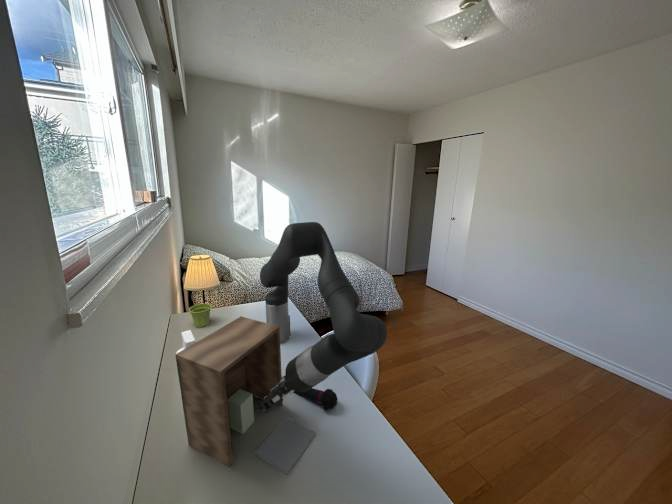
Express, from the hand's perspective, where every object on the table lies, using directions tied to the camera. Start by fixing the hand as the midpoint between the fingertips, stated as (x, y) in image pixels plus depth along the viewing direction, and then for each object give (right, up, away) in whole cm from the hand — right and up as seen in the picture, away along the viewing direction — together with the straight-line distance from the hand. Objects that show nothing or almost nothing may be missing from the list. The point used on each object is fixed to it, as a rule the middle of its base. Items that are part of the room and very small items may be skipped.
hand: (270, 394), depth 68 cm
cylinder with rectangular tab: (-36, -6, +31) cm, 48 cm away
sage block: (-10, -12, +7) cm, 17 cm away
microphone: (+8, -10, +18) cm, 22 cm away
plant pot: (-47, +1, +61) cm, 77 cm away
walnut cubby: (-10, -12, +8) cm, 17 cm away
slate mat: (+4, -14, +2) cm, 14 cm away
